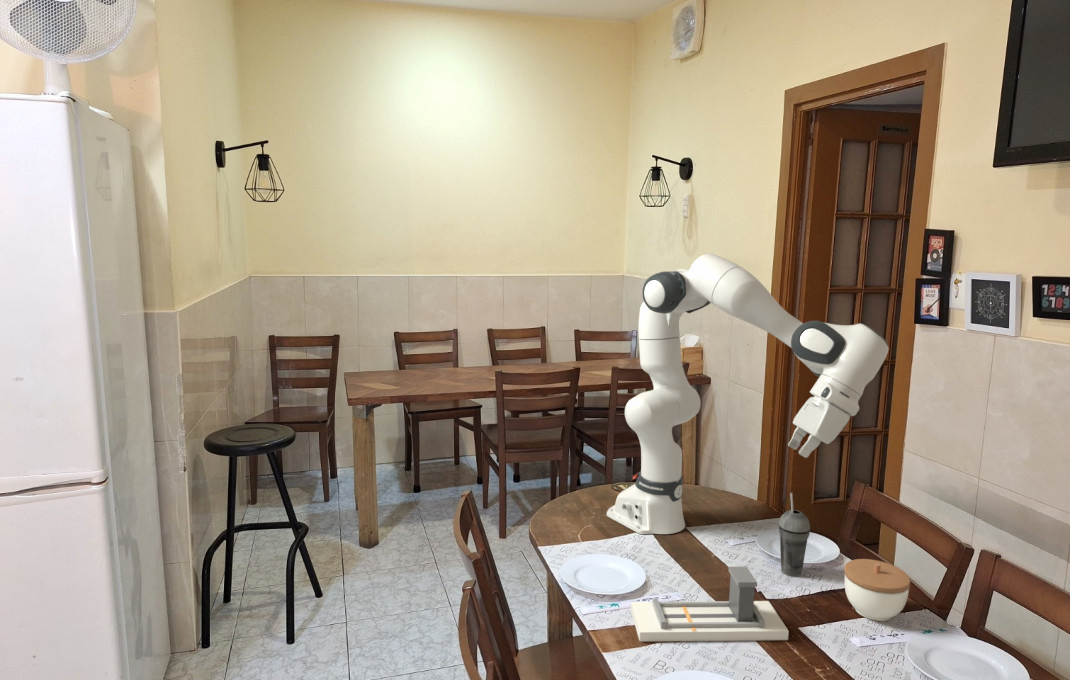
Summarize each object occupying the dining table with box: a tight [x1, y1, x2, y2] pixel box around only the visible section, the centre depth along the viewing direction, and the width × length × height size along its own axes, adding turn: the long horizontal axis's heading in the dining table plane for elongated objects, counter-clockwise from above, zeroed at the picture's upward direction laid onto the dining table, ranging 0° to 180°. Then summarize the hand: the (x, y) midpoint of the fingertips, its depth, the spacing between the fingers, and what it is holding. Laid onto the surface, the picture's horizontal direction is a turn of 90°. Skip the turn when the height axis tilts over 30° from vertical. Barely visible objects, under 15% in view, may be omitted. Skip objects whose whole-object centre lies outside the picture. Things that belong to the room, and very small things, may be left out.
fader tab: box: [728, 566, 758, 622], centre depth 138 cm, size 4×6×9 cm, turn 1°
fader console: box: [630, 597, 789, 643], centre depth 139 cm, size 30×11×4 cm, turn 91°
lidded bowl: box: [843, 558, 911, 622], centre depth 143 cm, size 13×13×11 cm
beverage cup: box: [777, 492, 812, 578], centre depth 159 cm, size 7×7×20 cm
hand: (796, 451), depth 141 cm, fingers open, 8 cm apart
